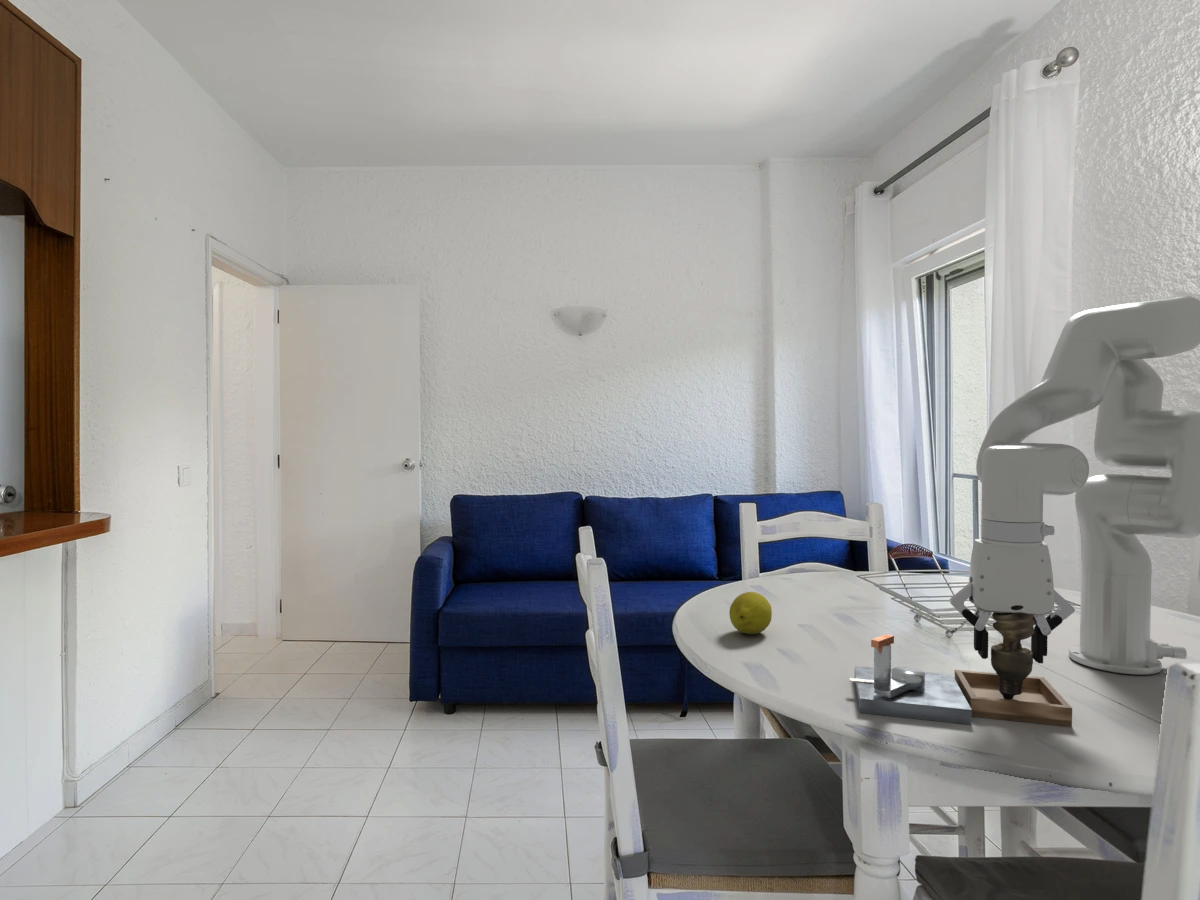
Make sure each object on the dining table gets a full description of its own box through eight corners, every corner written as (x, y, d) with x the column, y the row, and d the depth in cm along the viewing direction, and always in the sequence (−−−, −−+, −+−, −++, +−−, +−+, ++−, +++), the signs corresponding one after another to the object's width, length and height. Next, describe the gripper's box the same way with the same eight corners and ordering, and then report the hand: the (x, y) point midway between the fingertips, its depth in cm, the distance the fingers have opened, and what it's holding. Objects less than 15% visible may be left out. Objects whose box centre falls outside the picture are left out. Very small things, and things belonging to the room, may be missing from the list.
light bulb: (993, 688, 104) (996, 588, 104) (1036, 698, 101) (1039, 593, 101) (985, 699, 100) (988, 594, 100) (1029, 709, 97) (1033, 600, 96)
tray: (1043, 694, 104) (1043, 677, 104) (1071, 726, 93) (1072, 708, 93) (954, 685, 108) (954, 669, 108) (971, 716, 97) (971, 698, 96)
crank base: (952, 687, 107) (952, 673, 107) (971, 724, 94) (971, 708, 94) (847, 677, 112) (847, 664, 112) (852, 711, 98) (852, 696, 98)
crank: (901, 676, 106) (902, 622, 105) (930, 684, 102) (931, 629, 102) (859, 694, 99) (860, 636, 98) (889, 703, 95) (889, 644, 95)
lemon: (744, 624, 142) (744, 585, 142) (780, 631, 137) (780, 590, 137) (717, 637, 134) (717, 595, 134) (755, 644, 129) (755, 601, 129)
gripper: (1072, 531, 101) (1070, 655, 101) (939, 526, 106) (938, 645, 106) (1091, 539, 94) (1089, 672, 94) (948, 534, 99) (947, 661, 99)
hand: (1009, 656), depth 100 cm, fingers open, 6 cm apart
